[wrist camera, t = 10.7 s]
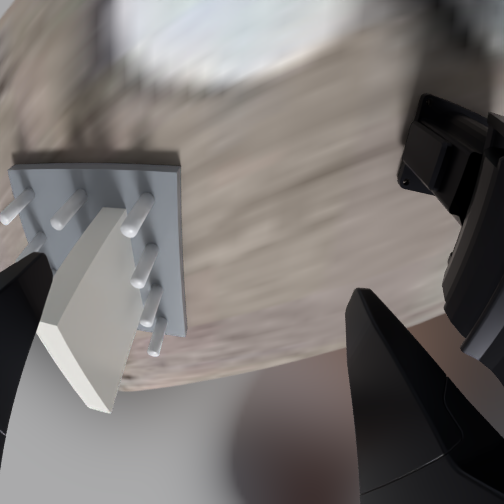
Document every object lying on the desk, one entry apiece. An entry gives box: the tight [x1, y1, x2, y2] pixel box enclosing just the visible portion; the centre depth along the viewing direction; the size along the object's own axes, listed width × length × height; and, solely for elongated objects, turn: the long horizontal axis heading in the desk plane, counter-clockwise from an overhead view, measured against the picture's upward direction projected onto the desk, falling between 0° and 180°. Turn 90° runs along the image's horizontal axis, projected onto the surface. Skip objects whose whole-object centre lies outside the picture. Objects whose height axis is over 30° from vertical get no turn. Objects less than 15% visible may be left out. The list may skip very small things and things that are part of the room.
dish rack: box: [0, 163, 187, 357], centre depth 22 cm, size 14×16×4 cm
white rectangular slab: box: [36, 207, 143, 414], centre depth 19 cm, size 2×10×10 cm, turn 174°
